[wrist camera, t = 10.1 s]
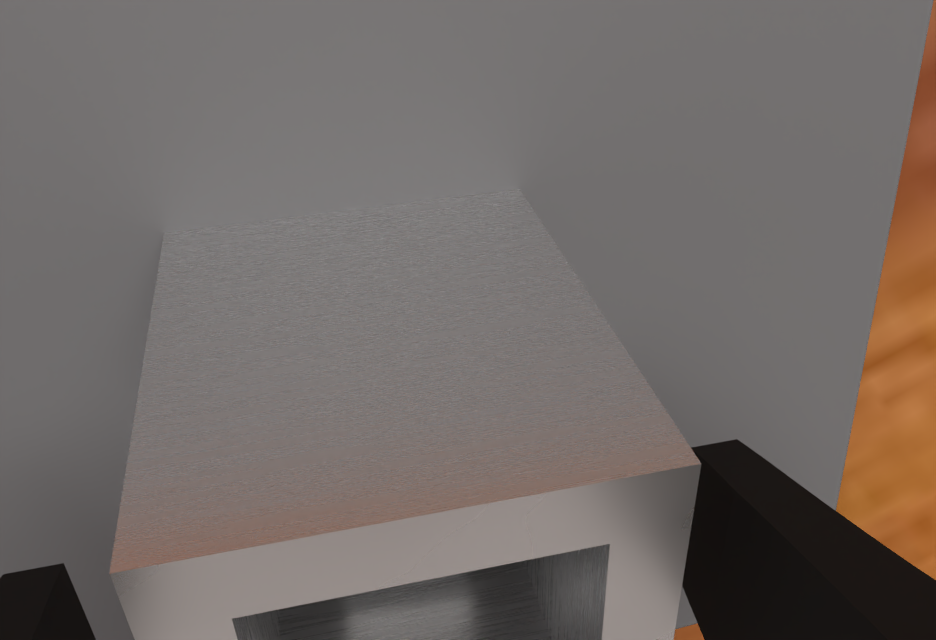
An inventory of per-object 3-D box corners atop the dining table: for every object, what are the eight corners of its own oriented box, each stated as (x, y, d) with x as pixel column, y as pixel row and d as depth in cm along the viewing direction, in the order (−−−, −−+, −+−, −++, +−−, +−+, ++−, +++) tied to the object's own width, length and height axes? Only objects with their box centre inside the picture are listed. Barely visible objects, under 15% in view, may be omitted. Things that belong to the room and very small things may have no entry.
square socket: (230, 498, 14) (226, 879, 9) (164, 233, 12) (108, 573, 7) (518, 448, 15) (651, 772, 10) (519, 188, 12) (701, 463, 8)
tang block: (15, 762, 18) (-33, 981, 15) (-738, -246, 8) (-1388, -253, 5) (797, 557, 20) (903, 707, 17) (958, -433, 10) (1288, -526, 7)
